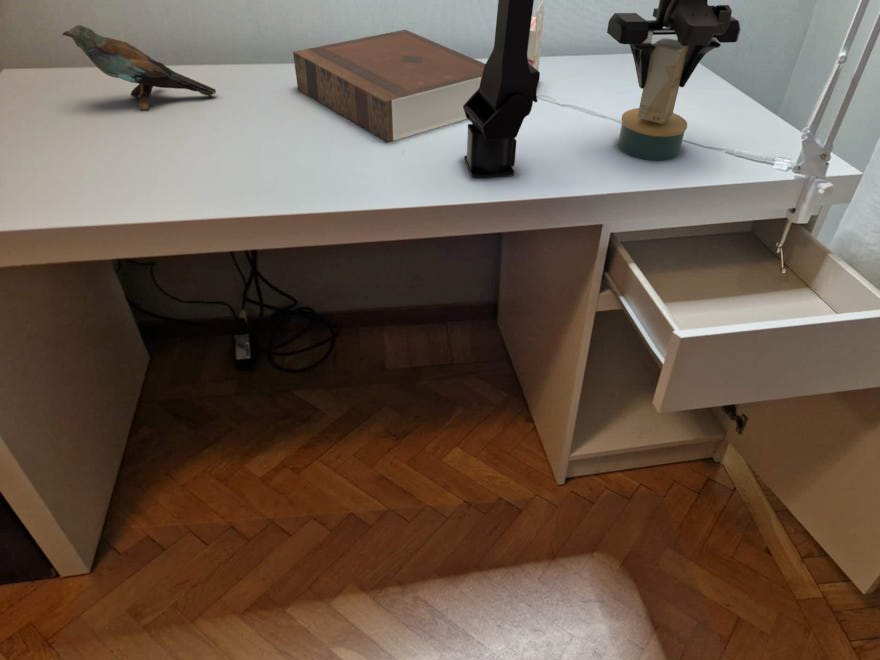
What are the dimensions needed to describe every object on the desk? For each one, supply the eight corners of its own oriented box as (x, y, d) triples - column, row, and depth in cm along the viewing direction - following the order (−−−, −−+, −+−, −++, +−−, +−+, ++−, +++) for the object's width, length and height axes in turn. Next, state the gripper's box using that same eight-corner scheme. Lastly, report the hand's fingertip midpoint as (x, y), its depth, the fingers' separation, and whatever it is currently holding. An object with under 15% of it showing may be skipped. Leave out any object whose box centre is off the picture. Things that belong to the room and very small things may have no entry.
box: (661, 125, 107) (678, 50, 100) (635, 118, 108) (650, 44, 101) (673, 114, 110) (690, 41, 103) (648, 108, 112) (663, 36, 105)
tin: (631, 162, 108) (636, 135, 105) (607, 135, 116) (612, 109, 113) (691, 159, 110) (698, 131, 107) (664, 132, 118) (670, 106, 115)
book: (387, 142, 110) (385, 101, 105) (297, 89, 125) (293, 51, 121) (500, 108, 122) (502, 71, 118) (406, 64, 138) (405, 29, 133)
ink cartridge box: (512, 79, 134) (518, -4, 124) (537, 82, 133) (546, -1, 124) (505, 94, 128) (510, 8, 118) (531, 98, 127) (539, 11, 117)
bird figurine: (216, 80, 124) (126, -23, 110) (218, 101, 117) (123, -6, 103) (159, 123, 126) (62, 26, 112) (158, 146, 119) (55, 47, 105)
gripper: (646, -11, 88) (624, 109, 99) (775, -12, 92) (741, 104, 102) (615, -32, 97) (597, 81, 107) (735, -31, 100) (706, 78, 111)
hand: (661, 87), depth 106 cm, fingers closed on box, 6 cm apart
